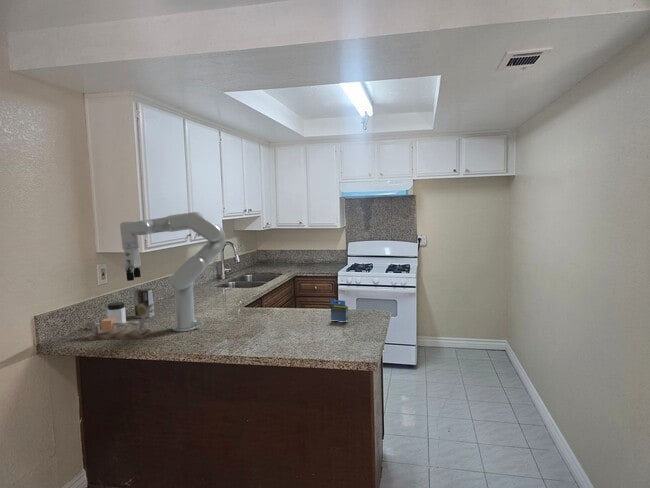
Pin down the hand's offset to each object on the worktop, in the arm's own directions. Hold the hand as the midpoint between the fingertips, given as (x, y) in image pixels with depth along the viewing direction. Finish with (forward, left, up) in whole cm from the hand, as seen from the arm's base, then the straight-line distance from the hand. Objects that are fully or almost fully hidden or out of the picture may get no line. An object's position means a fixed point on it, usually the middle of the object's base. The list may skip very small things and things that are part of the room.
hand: (134, 278), depth 216 cm
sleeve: (+11, +7, -24) cm, 27 cm away
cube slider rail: (+6, +7, -28) cm, 29 cm away
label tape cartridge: (-106, -4, -28) cm, 110 cm away
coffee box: (+7, -31, -28) cm, 42 cm away
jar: (+16, -14, -28) cm, 35 cm away
